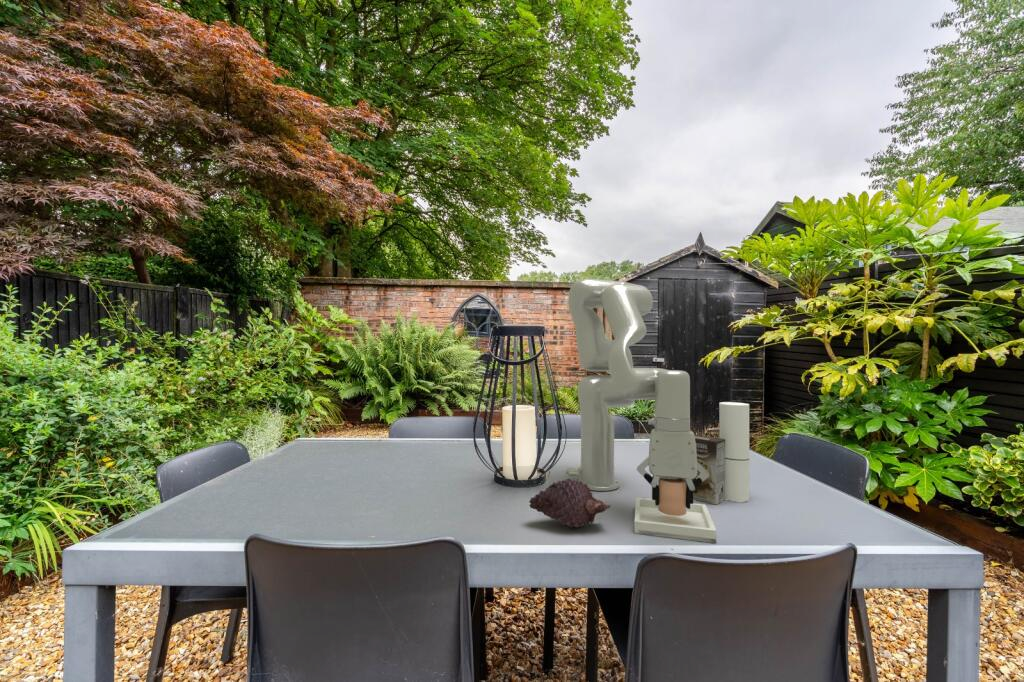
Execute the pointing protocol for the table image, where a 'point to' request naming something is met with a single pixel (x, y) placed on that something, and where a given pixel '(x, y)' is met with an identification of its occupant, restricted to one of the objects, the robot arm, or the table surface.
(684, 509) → the cup
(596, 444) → the robot arm
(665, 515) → the tray
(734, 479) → the cylindrical container
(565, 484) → the pine cone
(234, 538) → the table surface
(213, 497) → the table surface
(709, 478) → the coffee box
